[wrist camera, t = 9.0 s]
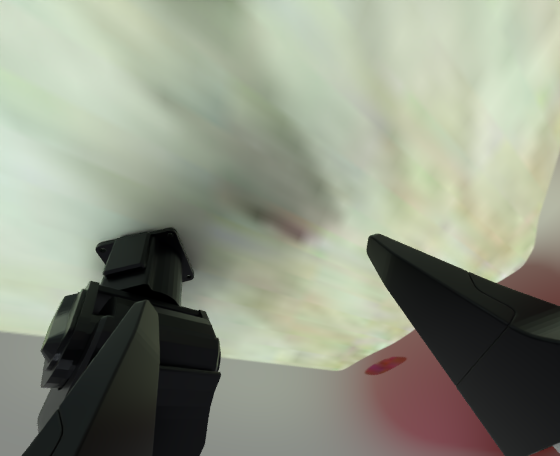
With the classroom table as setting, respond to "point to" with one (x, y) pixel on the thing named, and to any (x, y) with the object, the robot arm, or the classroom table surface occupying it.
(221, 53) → the classroom table surface
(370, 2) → the classroom table surface
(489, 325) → the robot arm
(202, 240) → the classroom table surface
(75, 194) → the classroom table surface
